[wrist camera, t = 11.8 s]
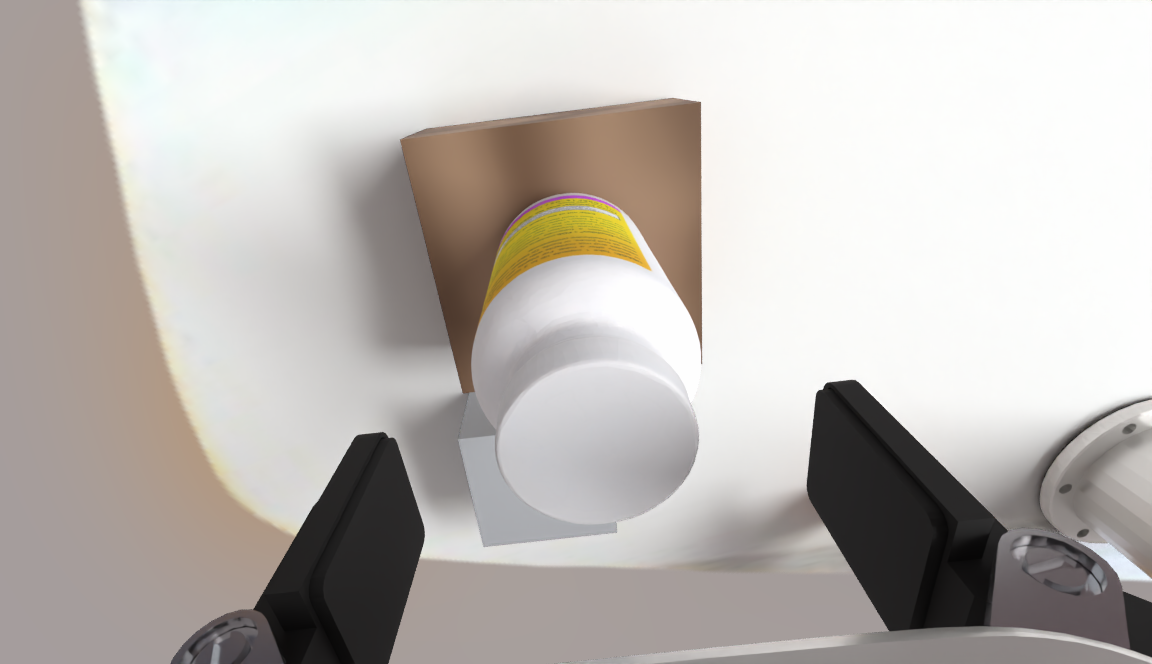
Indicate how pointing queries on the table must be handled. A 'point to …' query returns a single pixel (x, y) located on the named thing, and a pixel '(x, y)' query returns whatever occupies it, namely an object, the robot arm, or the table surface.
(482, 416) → the grey block
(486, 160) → the walnut block
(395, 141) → the table surface
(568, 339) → the supplement bottle
